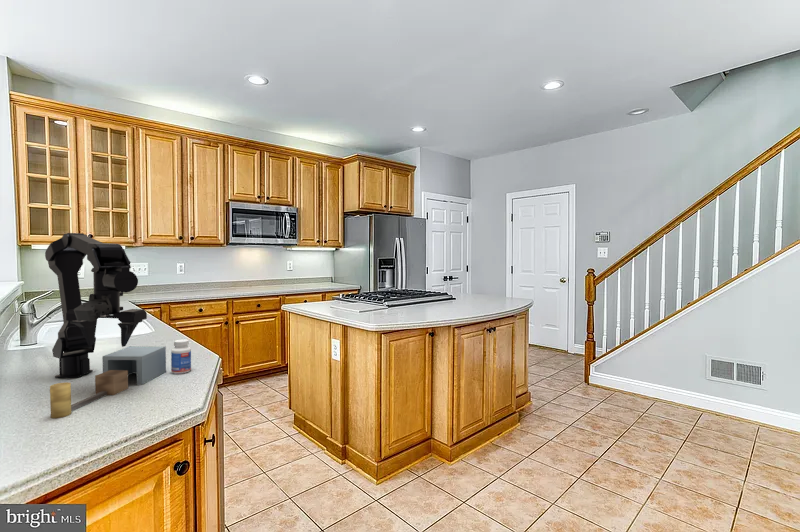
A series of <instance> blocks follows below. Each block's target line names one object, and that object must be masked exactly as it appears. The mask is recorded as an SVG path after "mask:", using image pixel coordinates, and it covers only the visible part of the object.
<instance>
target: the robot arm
mask: <svg viewBox="0 0 800 532" xmlns="http://www.w3.org/2000/svg"><path fill="white" fill-rule="evenodd" d="M44 256H45V258H44V259H45V260H46V261H47V263H48V267H49V269H50V270H51V271H52V272H53V273H54V274H55V275H56V276H57V282H58V290H59V299H60V305H61V312H62V319H63V320H62V321H63V324H62V325H61V327H60V328H59V331H58V332H57V339H56V341H55V343H54V345H53V347H52V349H51V350H52V357H53V358H56V359H58V361H59V362H58V363H59V365H58V366H59V367H58V368H59V374H57V375H55V376H54V378H56V379H57V378H58V379H64V378H65V379H72V378H73V379H77V378H79V377H82V376H85V375H87V374H89V373H92V372H94V371H93V370H94V369H91V368H90V367H91V366H90V365H91V364H90V363H91V362H90V361H91V360H90V358H89V354H91V353H92V354H93V353H94V351H95V348H96V339H97V337H96V332H97V324H98V319H118V321H119V322H118V323H117V325H118V327H119V328H120V344H121V347H122V348H124V347H127V344H128V342H129V340H130V338H131V337H132V335H133V333H134V331H135V329H136V328H137V326H138V324H139V323H142V322H143V321H145V320H146V319H147V318H148V316H147V315H148V313H147V311H146V310H145V309H143V308H130V309H126V310H124V306H121V305H120V304H121V297H123V296H124V294H125V293H130V292H132V291H134V290H135V289H136V288H137V286H138V285H139V284H138V283H139V278H138V277H137V275H136V274H135V273H134V272H132V271H131V267H132V266H131V261H130V259H129V257H128V255H127V252H126V251H125V249H124V248H123V246H122V245H121V244H120V243H113V242H112V243H107V242H101V241H99V240H97V239H94V238H92V237H91V236H88V235H87V234H84V233H81V232H80V233H79V232H67V233H64V234H63V235H62V236H61V237H60V238H59V239H56V240H54V241H51V243H49V245H48V247H47V248H46V249H45V253H44ZM85 258H86V260H87V261H89V263H90V265H91V266H92V268H91V270H90V272H92V274H93V293H89V295H88V300H87V301H86V302H83V303H82V295H81V290H80V289H81V288H80V282H79V274H78V273H79V271H80V270H81V268H82V266H83V265H84V259H85Z"/></svg>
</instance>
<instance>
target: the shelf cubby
mask: <svg viewBox="0 0 800 532" xmlns="http://www.w3.org/2000/svg"><path fill="white" fill-rule="evenodd" d="M166 349H167V347H166V345H165V346H160V345H159V346H156V345H155V346H148V345H146V346H143V345H142V346H141V345H139V346H137V345H136V346H134V345H133V346H132V345H131V346H130V345H129V346H126V347H125V348H124V347H123V348H122V349H119V350H116V351H113V352H110V353H107V354H104V355H102V359H101V360H102V373H104V372H106V371H109V370H128V376H129V375H131V374H136V386H137V385H144V384H146V383H147V382H150V381H152V380H153V379H156V378H157V377H159V376H161V375H163V374H165V373H166V372H167V352H166V351H167V350H166Z"/></svg>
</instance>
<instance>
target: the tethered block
mask: <svg viewBox="0 0 800 532" xmlns="http://www.w3.org/2000/svg"><path fill="white" fill-rule="evenodd" d="M94 377H95V378H94V383H95V385H94V387H95V394H93V395H90V396H88V397H85V398H84V399H82V400H80V401H77V402H74V403H73V404H72V389H71V388H72V385H71V384H72V383H71V382H69V381H67V382H65V381H64V382H58V383H54V384H51V385H50V386H49V395H50V397H49V401H50V403H49V404H50V418H51V419H60V418H64V417H68V416H70V415H71V414H72V412H73V411H76V410H78V409H80V408H82V407H84V406H86V405H88V404H91V403H93V402H95V401H97V400H99V399H102V398H103V397H106V396H115V395H117V394H119V393H121V392H123V391H126V390H128V389H129V375H128V370H109V371H106V372H104V373H103V372H102V373H99V374H96V375H95V376H94Z"/></svg>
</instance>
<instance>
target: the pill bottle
mask: <svg viewBox="0 0 800 532" xmlns="http://www.w3.org/2000/svg"><path fill="white" fill-rule="evenodd" d="M189 342H190V341H189V339H185V338H184V339H176V340H174V341H173V348H172V349H171V352H170V355H171V357H170V360H171V363H170V364H171V365H170V366H171V368H170V369H171V370H170V371H171V374H176V375H179V374H185V373H189V372H191V369H192V348H191V347H190V346H189Z"/></svg>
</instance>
